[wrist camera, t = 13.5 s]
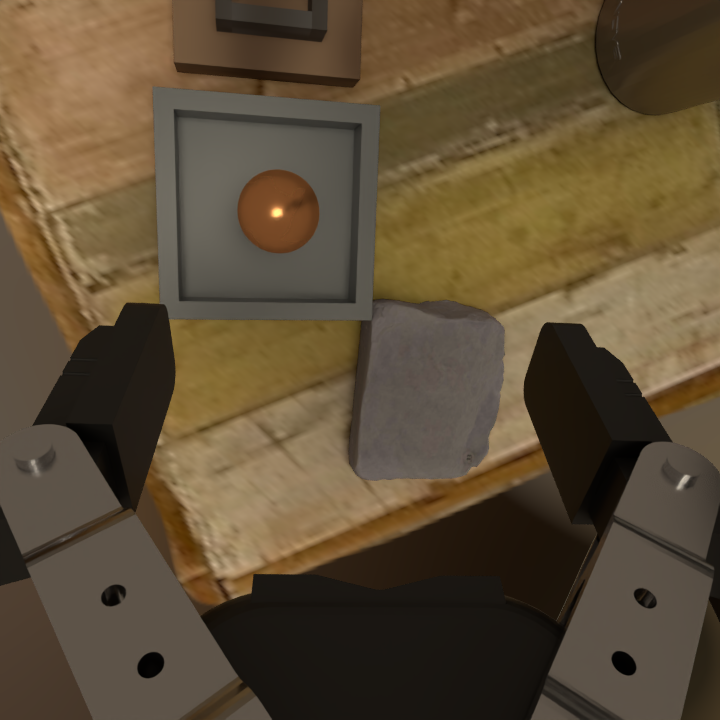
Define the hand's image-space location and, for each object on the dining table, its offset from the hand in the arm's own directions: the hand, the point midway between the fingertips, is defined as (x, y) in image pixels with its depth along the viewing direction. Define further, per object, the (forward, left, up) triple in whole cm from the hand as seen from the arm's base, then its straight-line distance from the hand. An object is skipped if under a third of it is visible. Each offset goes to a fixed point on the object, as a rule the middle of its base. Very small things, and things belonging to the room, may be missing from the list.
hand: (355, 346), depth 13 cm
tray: (+1, -3, -25) cm, 25 cm away
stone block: (-10, +7, -25) cm, 28 cm away
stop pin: (+1, -3, -24) cm, 24 cm away
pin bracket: (+1, -15, -25) cm, 29 cm away
